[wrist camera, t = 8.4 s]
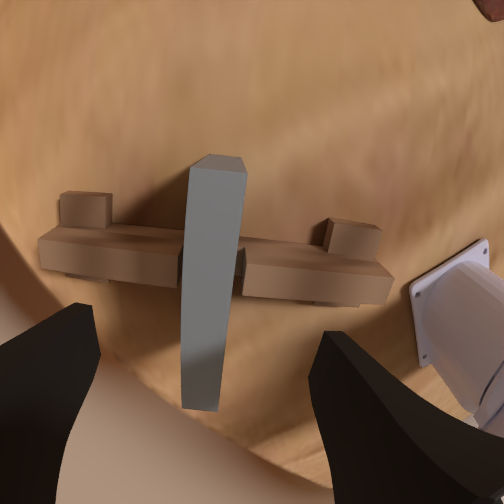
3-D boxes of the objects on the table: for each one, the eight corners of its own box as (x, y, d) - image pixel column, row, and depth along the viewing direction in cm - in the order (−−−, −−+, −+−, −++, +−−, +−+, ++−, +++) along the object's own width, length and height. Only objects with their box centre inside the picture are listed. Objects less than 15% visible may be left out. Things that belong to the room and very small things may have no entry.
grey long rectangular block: (220, 323, 18) (217, 411, 12) (195, 320, 18) (181, 408, 11) (240, 157, 14) (247, 173, 8) (209, 154, 14) (190, 167, 8)
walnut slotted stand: (374, 225, 16) (404, 246, 13) (353, 299, 18) (374, 331, 15) (68, 190, 14) (34, 205, 11) (72, 269, 16) (46, 296, 13)
